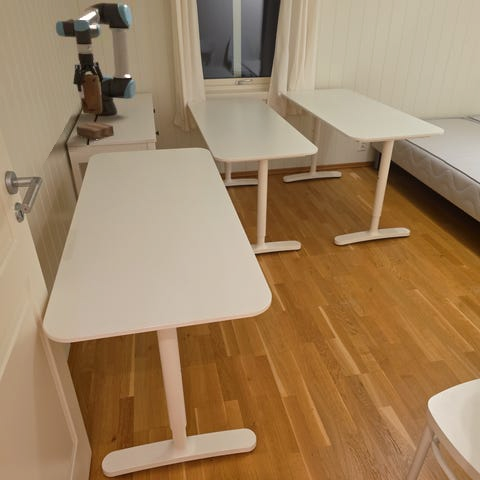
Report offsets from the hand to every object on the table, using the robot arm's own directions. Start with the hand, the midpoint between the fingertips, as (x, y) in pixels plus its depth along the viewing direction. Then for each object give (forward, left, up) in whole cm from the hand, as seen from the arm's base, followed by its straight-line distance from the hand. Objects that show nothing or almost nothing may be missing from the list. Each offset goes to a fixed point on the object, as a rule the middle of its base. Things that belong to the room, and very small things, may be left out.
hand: (90, 96), depth 243 cm
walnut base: (0, 0, -22) cm, 22 cm away
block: (0, 0, -9) cm, 9 cm away
